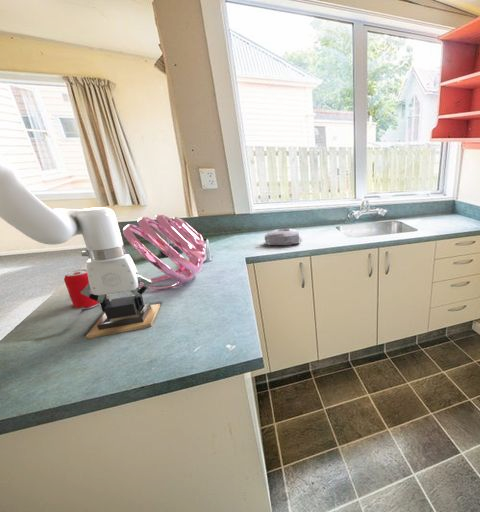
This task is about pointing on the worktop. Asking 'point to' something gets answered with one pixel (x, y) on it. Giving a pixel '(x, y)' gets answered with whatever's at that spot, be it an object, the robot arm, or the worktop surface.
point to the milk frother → (169, 243)
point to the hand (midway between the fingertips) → (124, 309)
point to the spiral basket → (169, 247)
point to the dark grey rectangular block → (121, 307)
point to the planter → (207, 250)
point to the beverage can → (79, 289)
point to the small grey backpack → (282, 237)
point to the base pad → (125, 322)
